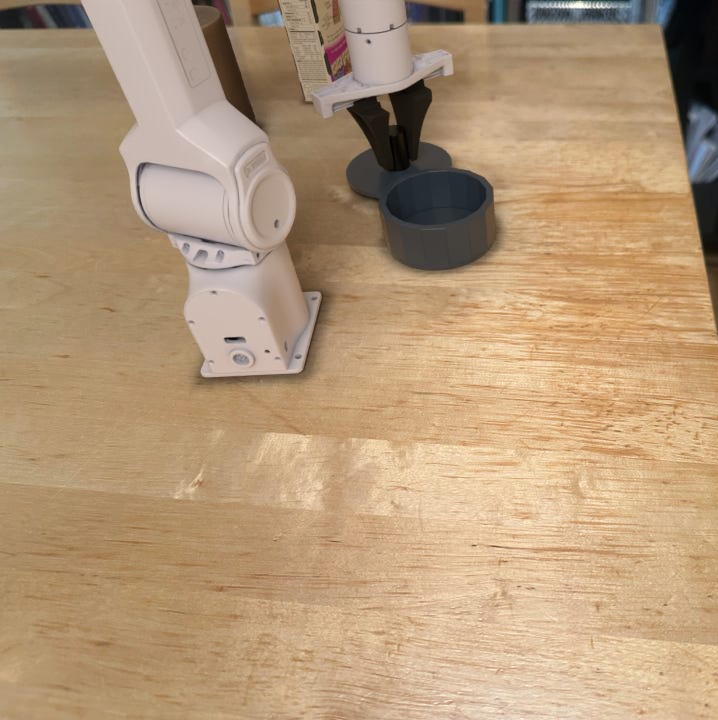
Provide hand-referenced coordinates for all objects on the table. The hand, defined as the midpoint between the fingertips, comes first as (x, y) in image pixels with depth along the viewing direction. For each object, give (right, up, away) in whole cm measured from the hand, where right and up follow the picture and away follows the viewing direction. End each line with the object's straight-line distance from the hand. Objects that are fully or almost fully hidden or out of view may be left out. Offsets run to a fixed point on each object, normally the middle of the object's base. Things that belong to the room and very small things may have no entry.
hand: (398, 161), depth 68 cm
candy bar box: (-11, +16, +21) cm, 29 cm away
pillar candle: (-23, +6, +11) cm, 26 cm away
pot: (+5, -9, -6) cm, 12 cm away
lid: (0, -1, +1) cm, 1 cm away
